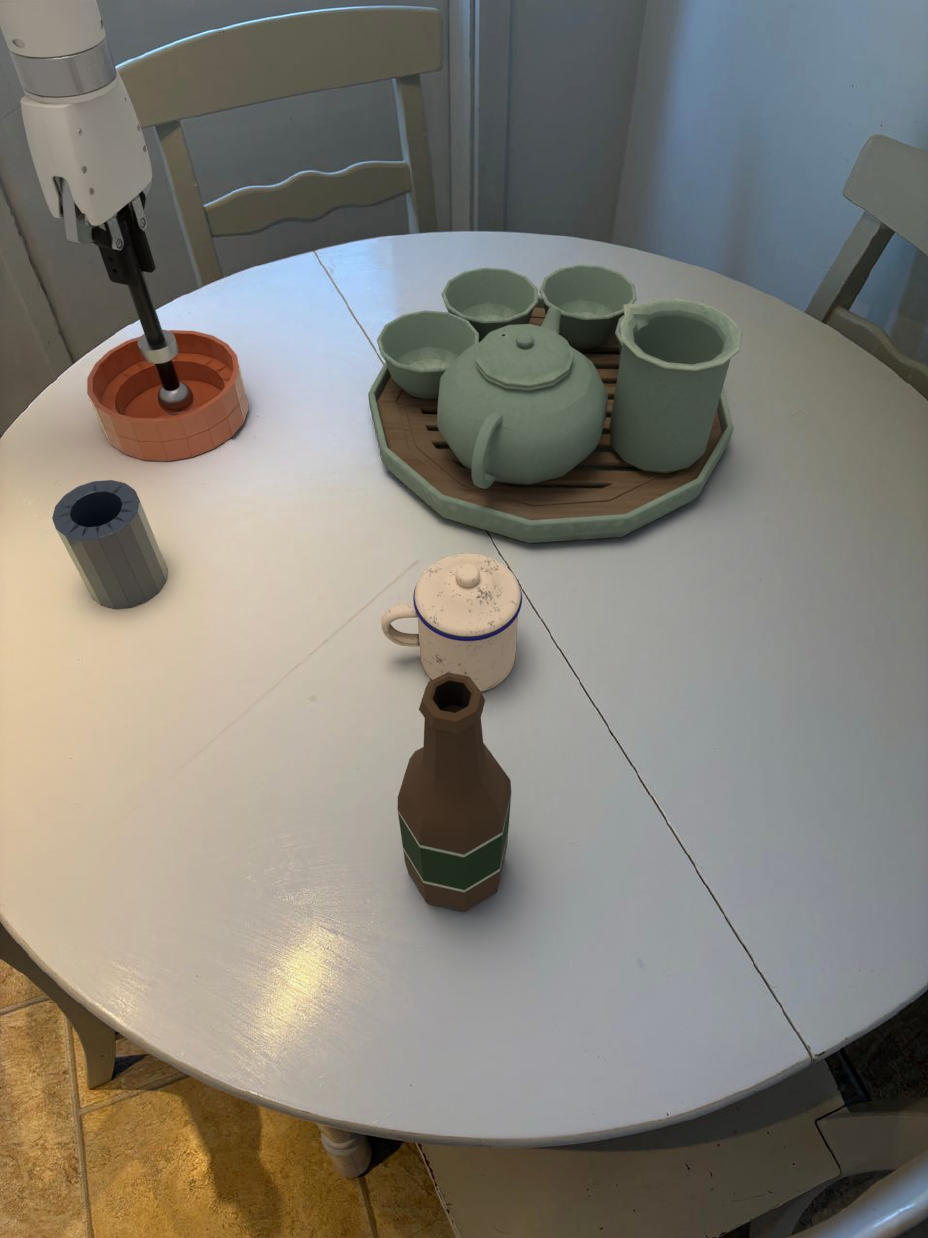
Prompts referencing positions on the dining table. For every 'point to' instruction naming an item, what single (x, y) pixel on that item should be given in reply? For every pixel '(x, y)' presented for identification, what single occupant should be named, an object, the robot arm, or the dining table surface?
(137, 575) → the crock
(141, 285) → the ball-tipped black rod
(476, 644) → the teacup with lid
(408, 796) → the beer bottle
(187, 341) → the bowl
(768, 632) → the dining table surface
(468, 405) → the tea set
